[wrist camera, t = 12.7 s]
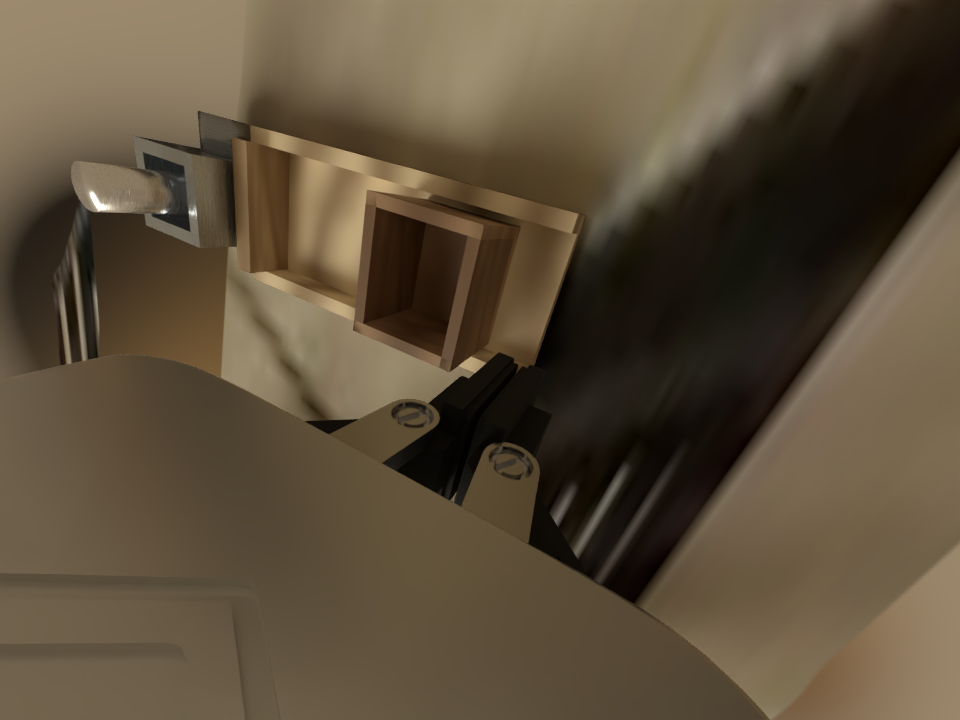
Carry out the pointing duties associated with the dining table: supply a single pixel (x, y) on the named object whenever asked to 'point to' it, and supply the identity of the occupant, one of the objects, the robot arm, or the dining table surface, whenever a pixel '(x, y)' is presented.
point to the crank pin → (129, 189)
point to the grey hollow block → (199, 181)
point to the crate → (430, 277)
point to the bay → (339, 228)
